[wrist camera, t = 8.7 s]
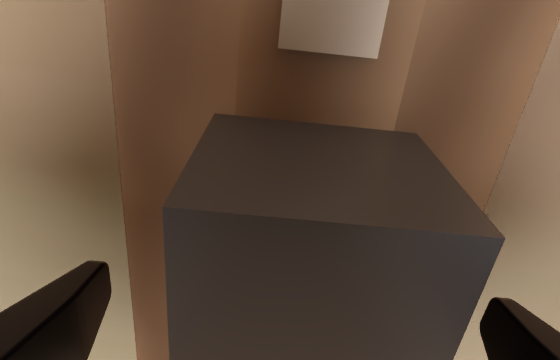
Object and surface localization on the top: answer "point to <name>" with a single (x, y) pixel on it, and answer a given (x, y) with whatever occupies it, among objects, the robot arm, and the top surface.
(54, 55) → the top surface
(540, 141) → the top surface
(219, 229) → the dark grey block
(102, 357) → the top surface
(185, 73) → the socket box
